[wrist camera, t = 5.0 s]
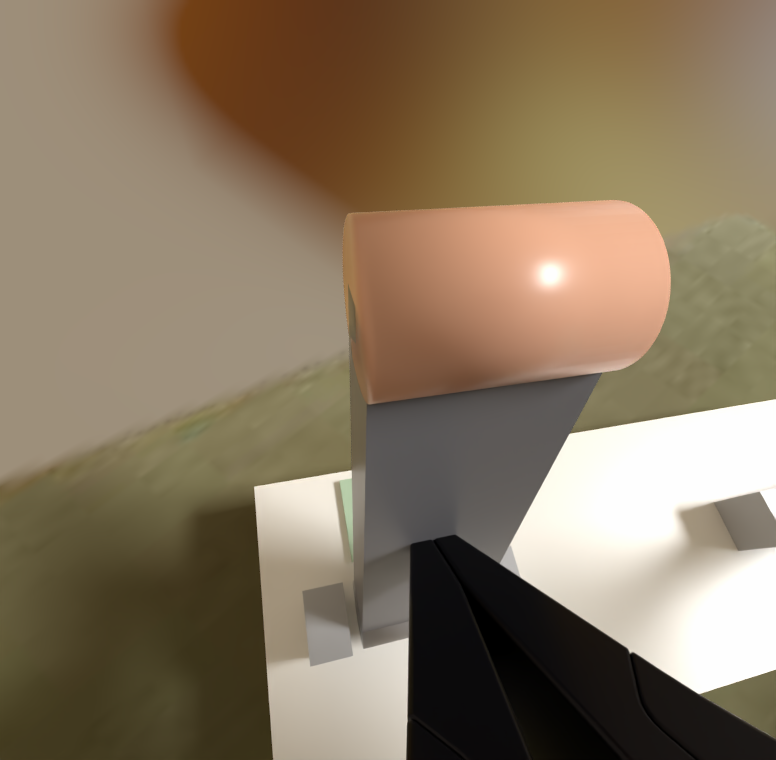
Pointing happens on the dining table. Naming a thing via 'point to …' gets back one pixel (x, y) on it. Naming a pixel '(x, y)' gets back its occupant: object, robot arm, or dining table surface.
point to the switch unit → (543, 573)
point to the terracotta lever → (478, 368)
